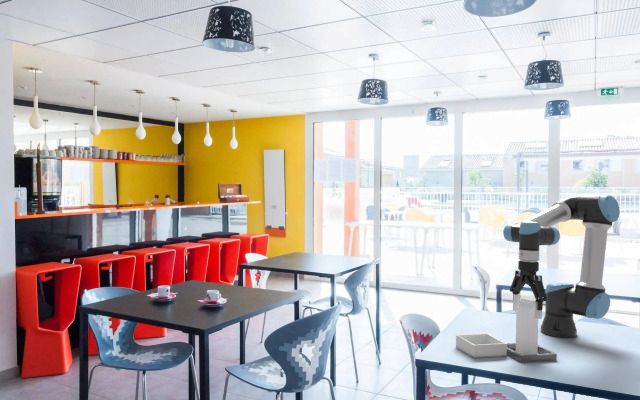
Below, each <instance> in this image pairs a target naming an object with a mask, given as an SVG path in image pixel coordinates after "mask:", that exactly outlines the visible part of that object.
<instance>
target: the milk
mask: <svg viewBox="0 0 640 400" xmlns="http://www.w3.org/2000/svg"><path fill="white" fill-rule="evenodd" d="M534 309H535V300H531V299H525V298H520V304H519V305H518V306H517V311H515V312H516V315H515V317H516V318H515V321H516V323H515V343H516V350H515V352H517V353H519V354H521V355H530V354H538V352H537V350H538V345H539V344H538V343H539V340H538V339H539V319H535V318H534Z"/></svg>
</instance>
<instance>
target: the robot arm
mask: <svg viewBox="0 0 640 400" xmlns="http://www.w3.org/2000/svg"><path fill="white" fill-rule="evenodd" d="M620 213H621V211H620V205H619V203H618V201H617V199H616V198H615V197H614V196H612V195H609V194H608V195H607V194H574V195H570V196H568V197H565V198H563V199H560V200H558V201H556V202H554V203H553V204H552V206H551V207H549V208H547V209H544V210H543V211H541V212H539V213H537V214H535V215H533V216H531V217H529V218H527V219H525V220H523V221H521V222H519V223H517V224H516V223H510V224H509V223H508V224H506V225H505V226H504V227H503V233H502V235H503V237H504V240H505V241H507V242H512V243H519V245H518V261H517V262H518V265H517V266H518V267H517V268H518V270H515V271H514V277H513V279H512V282H511V285H510V288H509V292H511V293H512V296H513V297H512V300H513V303H512V311H515V312H516V311H517V306H518V305H519V304H520V302H521V292H522V290H523V288H524V286H526V285H527V286H528V287H529V288H530V289H531V292H532V294H533V295H534V298H535V300H534V301H535V309H534V318H535V319H538V320H539V319H542V318H543V320H542V323H541V325H540V332H541V333H542V334H545V335H547V336H552V337H557V338H558V337H559V338H574V337H577V335H578V331H577V326H576V323H575V321H574V320H575V319H574V315H577V316H581V317H586V318H587V319H596V320H600V319H602V318H604V317H605V315H607V314H608V312H609V309H610V307H611V298H610V294H608V293H607V292H606V288H605V286H604V285H603V278H604V267H605V258H606V249H607V240H608V239H607V238H608V231H609V229H611V228H612V227H613V223H615V222H617V221H618V220H619V218H620ZM570 220H572V221H573V220H576V221H577V220H578V221H581V223H582V225H583V226H584V227H585V232H584V239H583V248H582V257H581V258H582V260H581V269H580V275H579V281H578V282H577V283H575V284H574V283H570V282H554V283H548V284H547V285H546V286H545V287H544V283H543V275H542V274H541V275H537V273H538V272H539V269H540V263H539V262H540V246H549V247H550V246H554V245H556V244H558V243H559V241H560V239H561V234H560V231H559V230H558V229H557V227H554V226H555V225H557V224H558V223H561V222H562V223H565V222H568V221H570ZM544 302H545V305H544V307H545V311H544V312H545V313H544V317H542V316H543V308H544V307H543V304H544Z"/></svg>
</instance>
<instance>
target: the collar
mask: <svg viewBox="0 0 640 400" xmlns="http://www.w3.org/2000/svg"><path fill="white" fill-rule="evenodd" d="M506 343H507V342H506ZM557 355H558V354H557V352H553V351H552V350H549V349H547V348H545V347H543V346H540V345H539V344H538V350H537V354H530V355H521V354H519V353H517V352H516V342H511V343H510V342H509V343H507V356H508V357H510V358H512V359H513V360H516V361H517V362H519V363H535V362H550V361H551V362H552V361H554V362H555V361H557V359H558V356H557Z"/></svg>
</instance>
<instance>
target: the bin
mask: <svg viewBox="0 0 640 400" xmlns="http://www.w3.org/2000/svg"><path fill="white" fill-rule="evenodd" d="M455 347H456V348H457V349H458V350H460V351H461V352H463V353H465V354H466V355H468V356H469V357H471V358H473V359H480V358H481V359H482V358H483V359H484V358H499V357H502V358H503V357H507V356H508V355H507V342H505V341H502V340H501V339H498V338H496V337H495V336H493V335H490V334H489V333H471V334H470V333H468V334H456V335H455Z"/></svg>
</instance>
